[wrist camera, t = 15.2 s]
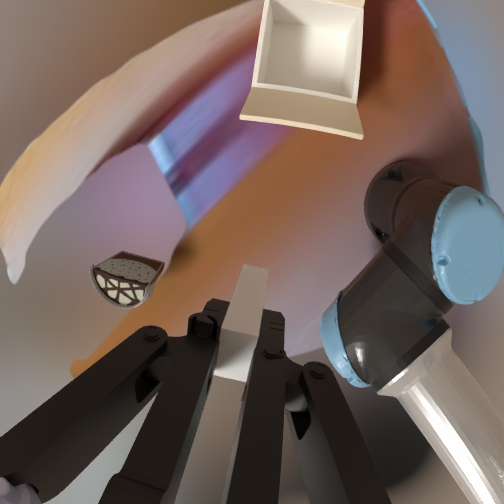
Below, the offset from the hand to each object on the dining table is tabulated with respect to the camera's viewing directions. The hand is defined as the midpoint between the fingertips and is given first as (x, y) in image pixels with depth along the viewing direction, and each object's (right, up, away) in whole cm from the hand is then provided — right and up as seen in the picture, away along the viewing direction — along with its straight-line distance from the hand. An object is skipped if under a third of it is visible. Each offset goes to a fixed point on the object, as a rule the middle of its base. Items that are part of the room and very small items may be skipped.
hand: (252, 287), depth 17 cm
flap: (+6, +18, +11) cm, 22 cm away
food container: (-21, -2, +36) cm, 42 cm away
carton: (+8, +32, +20) cm, 38 cm away
